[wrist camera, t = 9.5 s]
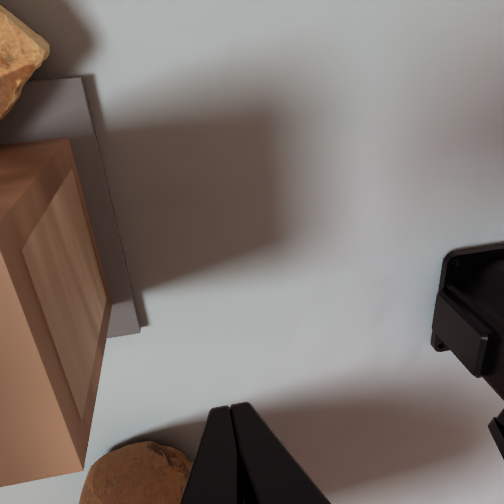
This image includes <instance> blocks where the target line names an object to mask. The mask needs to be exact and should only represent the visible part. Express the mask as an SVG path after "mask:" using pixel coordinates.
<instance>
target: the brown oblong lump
mask: <svg viewBox="0 0 504 504" xmlns="http://www.w3.org/2000/svg"><path fill="white" fill-rule="evenodd" d="M191 467H192V462H190V461H189V459H188V458H187V457H186V456H185V455H184V454H183V453H182V452H181V451H180V450H178V449H175V448H172V447H170V446H168V445H167V446H161V445H159V444H157V443H156V442H153V441H146V442H139V443H133V444H130V445H126V446H124V447H122V448H120V449H118V450H115V451H112V452H109V453H107V454H106V455H104V456H102V457H101V458H99V459H98V460H97V461H96V462H95V463H94V464H93V465H92V466H91V468H90V470H89V473H88V475H87V478H86V480H85V483H84V486H83V489H82V493H81V497H80V501H79V504H179V503H180V500H181V497H182V494H183V491H184V488H185V485H186V482H187V479H188V476H189V473H190V470H191Z"/></svg>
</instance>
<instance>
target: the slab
mask: <svg viewBox="0 0 504 504" xmlns="http://www.w3.org/2000/svg"><path fill="white" fill-rule="evenodd" d="M111 309H112V302H111V298H110V295H109V291H108V287H107V283H106V279H105V275H104V272H103V268H102V264H101V260H100V256H99V252H98V249H97V245H96V241H95V237H94V233H93V229H92V226H91V222H90V218H89V214H88V210H87V206H86V203H85V199H84V195H83V191H82V187H81V184H80V180H79V176H78V172H77V168H76V164H75V161H74V157H73V153H72V149H71V145H70V141H69V138H59V139H50V140H41V141H32V142H22V143H13V144H4V145H0V487H3V486H8V485H14V484H19V483H24V482H29V481H34V480H39V479H44V478H49V477H54V476H59V475H64V474H69V473H74V472H79V471H83V469H84V463H85V458H86V452H87V446H88V441H89V435H90V429H91V424H92V418H93V412H94V406H95V401H96V395H97V389H98V384H99V378H100V372H101V366H102V361H103V355H104V349H105V344H106V338H107V332H108V327H109V321H110V315H111Z"/></svg>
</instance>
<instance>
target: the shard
mask: <svg viewBox="0 0 504 504" xmlns="http://www.w3.org/2000/svg"><path fill="white" fill-rule="evenodd" d="M49 53H50V45H49V44H48V42H47V41H46V40H44V39H43V38H42V37H41V36H40V35H38V34H36V33H35V32H34V31H33V30H31V29H30V28H29V27H28V26H27V25H25V24H24V23H23V22H22V21H20V20H19V19H18V18H17V17H15V16H14V15H13V14H12V13H11V12H9V11H8V10H6V9H5V8H4V7H3V6H1V5H0V120H1V119H2V118H3V117H4V116H5V115H6V114H7V113H8V112H9V111H10V110H11V109H12V107H13V105H14V104H15V102H16V101H17V100H18V98H19V97H20V94H21V90H22V87H23V85H24V84H25V83H26V82H27V81H28V79H29V78H30V77H31V76H32V74H33V72H34V71H35V70H36V69H38V68H39V67H40V66H41V65H42V62H43V61H44V60H45V59H46V58H48V56H49Z"/></svg>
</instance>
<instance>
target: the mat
mask: <svg viewBox="0 0 504 504" xmlns="http://www.w3.org/2000/svg"><path fill="white" fill-rule="evenodd" d="M59 138H69V141H70V145H71V149H72V153H73V157H74V161H75V164H76V168H77V172H78V176H79V180H80V184H81V187H82V191H83V195H84V199H85V203H86V206H87V210H88V214H89V218H90V222H91V226H92V229H93V233H94V237H95V241H96V245H97V249H98V252H99V256H100V260H101V264H102V268H103V272H104V275H105V279H106V283H107V287H108V291H109V295H110V298H111V302H112V309H111V315H110V321H109V327H108V332H107V338H112V337H118V336H124V335H130V334H136V333H140V329H141V328H140V323H139V319H138V315H137V311H136V306H135V302H134V298H133V293H132V289H131V285H130V280H129V276H128V272H127V267H126V263H125V259H124V255H123V250H122V246H121V242H120V237H119V233H118V229H117V224H116V220H115V216H114V212H113V207H112V203H111V199H110V194H109V190H108V186H107V181H106V177H105V173H104V168H103V164H102V160H101V156H100V151H99V147H98V143H97V138H96V134H95V130H94V125H93V121H92V117H91V113H90V108H89V104H88V100H87V95H86V91H85V87H84V82H83V78H82V77H71V78H60V79H49V80H38V81H27V82H26V83H25V84H24V85H23V87H22V90H21V94H20V97H19V98H18V100H17V101H16V102H15V104H14V105H13V107H12V109H11V110H10V111H9V112H8V113H7V114H6V115H5V116H4V117H3V118H2V119H1V120H0V145H4V144H13V143H22V142H32V141H41V140H50V139H59Z"/></svg>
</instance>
